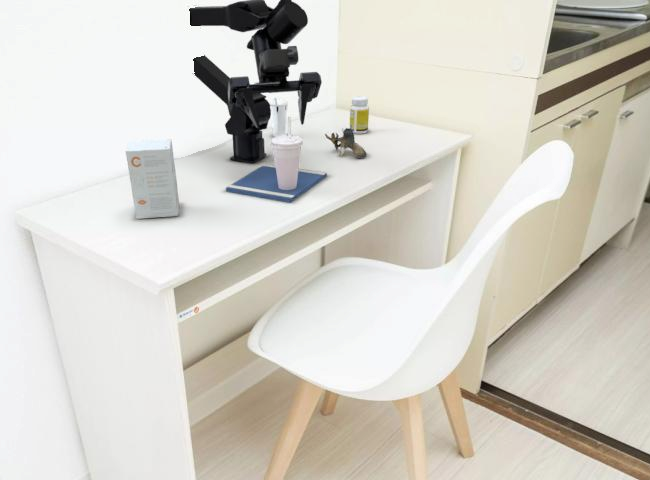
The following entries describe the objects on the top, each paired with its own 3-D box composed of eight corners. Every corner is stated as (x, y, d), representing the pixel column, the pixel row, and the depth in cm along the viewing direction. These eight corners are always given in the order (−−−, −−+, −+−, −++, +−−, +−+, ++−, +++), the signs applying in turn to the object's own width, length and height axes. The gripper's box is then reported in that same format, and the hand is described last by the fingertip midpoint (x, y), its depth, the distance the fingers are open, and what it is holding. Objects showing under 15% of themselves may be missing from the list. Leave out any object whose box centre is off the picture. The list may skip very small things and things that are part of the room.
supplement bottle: (370, 130, 169) (372, 97, 164) (363, 135, 166) (364, 100, 161) (354, 128, 171) (355, 95, 167) (346, 132, 168) (347, 99, 163)
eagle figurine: (320, 151, 151) (350, 151, 145) (327, 121, 151) (358, 120, 145) (339, 162, 157) (369, 162, 151) (346, 133, 157) (376, 132, 151)
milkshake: (267, 138, 165) (266, 97, 160) (273, 132, 169) (272, 93, 164) (284, 139, 164) (284, 98, 158) (290, 133, 168) (290, 93, 163)
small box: (179, 204, 128) (172, 138, 121) (178, 216, 123) (171, 148, 116) (138, 207, 127) (128, 140, 120) (135, 219, 122) (125, 150, 115)
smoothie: (303, 192, 130) (302, 121, 122) (271, 192, 130) (268, 121, 122) (303, 181, 135) (302, 112, 128) (272, 181, 135) (270, 113, 128)
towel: (226, 191, 133) (225, 187, 133) (266, 167, 146) (266, 163, 146) (290, 202, 127) (290, 198, 127) (326, 176, 140) (326, 172, 139)
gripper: (225, 33, 125) (237, 106, 121) (319, 28, 127) (333, 99, 124) (223, 69, 135) (233, 136, 132) (310, 63, 138) (322, 129, 135)
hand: (280, 125), depth 131 cm, fingers open, 9 cm apart
